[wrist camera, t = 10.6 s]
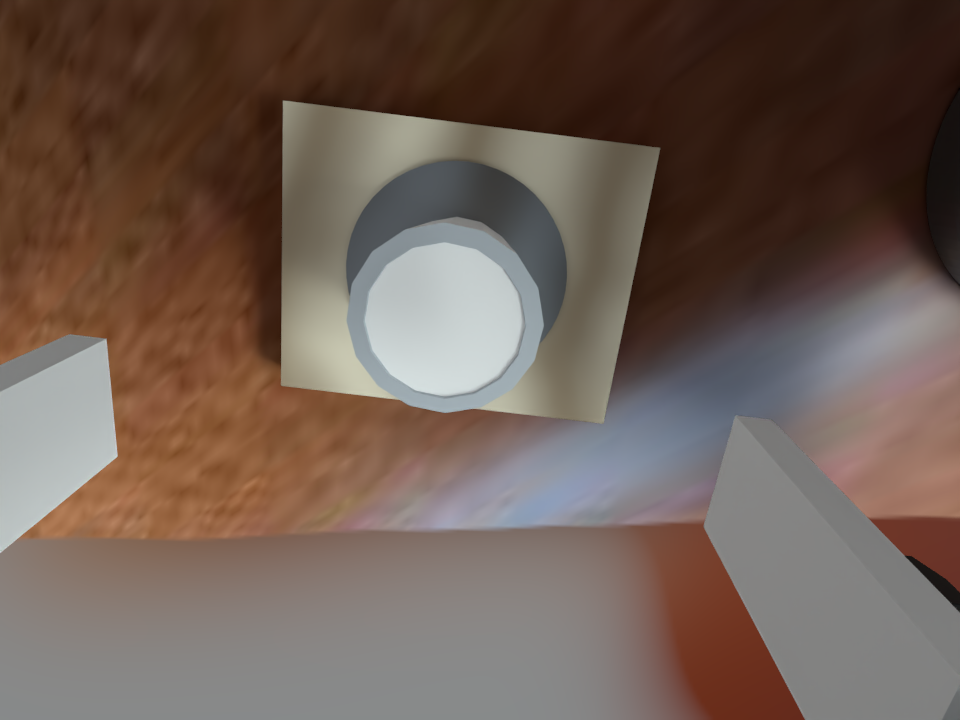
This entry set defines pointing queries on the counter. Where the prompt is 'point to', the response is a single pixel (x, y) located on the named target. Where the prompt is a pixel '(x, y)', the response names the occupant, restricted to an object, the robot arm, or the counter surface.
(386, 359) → the shot glass
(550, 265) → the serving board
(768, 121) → the counter surface
